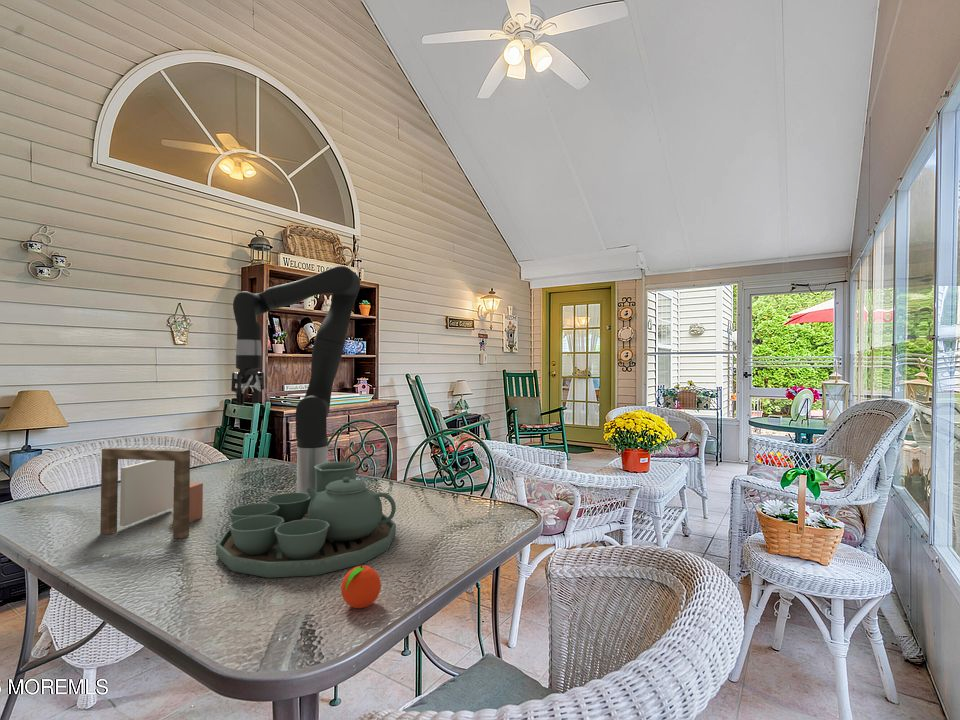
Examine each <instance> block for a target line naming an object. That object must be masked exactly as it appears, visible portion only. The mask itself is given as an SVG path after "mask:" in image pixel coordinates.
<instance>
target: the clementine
mask: <svg viewBox="0 0 960 720" xmlns="http://www.w3.org/2000/svg"><path fill="white" fill-rule="evenodd" d="M340 586H341V588H340V589H341V590H340V591H341V592H340V593H341V596H342V599H343V600H344V601H345V603H346V604H347V605H348V606H350V607H352V608H355V609H364V608H367V607H369V606H370V605H372V604H373V603H374V602H375V601H376V600H377V599H378V598H379V595H380V592H381V588H382V584H381V578H380V576H379V573H378V572H377V571H376V570H375V569H374V568H372V567H371V566H368V565H357V566H353V567H352V569H350V570H349V571H347V573H346V574H345V575H344V577H343V579H342V581H341V585H340Z"/></svg>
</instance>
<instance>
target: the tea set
mask: <svg viewBox="0 0 960 720" xmlns="http://www.w3.org/2000/svg"><path fill="white" fill-rule="evenodd" d="M358 467H359V463H357V462H353V461H328V462H327V463H322V464H317V465H316V466H314V468H315V469H316V491H315V490H314V489H313V488H312V487H311V486H310V487H309V488H308V489H307V492H308V494H307V493H297V492H286V493H278V494H275V495H272V496H270V497H268V498H267V499H266V501H265V502H258V503H249V504H244V505H240V506H237V507H235V508H232V509H230V511H229V512H228V515H229V517H230V520H231V523H230V525H228V530H226V531H225V532H224V534H223V535H222V536H221V538H220V539H219V541H218V542H217V544H216V545H215V550H216V551H215V553H216V556H217V558H218V559H219V560H220V561H221V562H222V563H223V564H224V565H225V566H226V567H227V568H228V569H229V570H230V571H231V572H234V573H239V574H247V575H251V576H258V577H262V578H266V579H267V578H268V579H272V578H287V577H289V578H290V577H306V576H307V577H308V576H309V577H310V576H318V575H319V576H320V575H323V574H326V573H331V572H336V571H340V570H343V569H347V568H354V567H357V566H362V565H363V564H365V563H366V562H368V561H370V560H372V559H374V558H375V557H377V556H380V555H381V554H383V553H384V552H386V551H389V549H390V545H391V543H392V542H393V539H394V536H395V534H396V531H397V524H396V522H395V521H393V520H392V519H394V517H395V514H396V509H397V506H396V501H395V499H394V498H393V496H392V495H390V494H388V493H387V492H382V491H381V492H378V493H376V492H374V491H373V490H372V489H369V488H367V483H366V482H365V481H362V480H360V479H357V468H358ZM381 498H385V499H386V500H387V501H388V502H389V503H390V506H391V508H390V509H391V512H390V514H389V515H388V516H387V515H386V514H384V513H383V504H382V499H381ZM311 500H312V501H311ZM310 501H311V503H310Z"/></svg>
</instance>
